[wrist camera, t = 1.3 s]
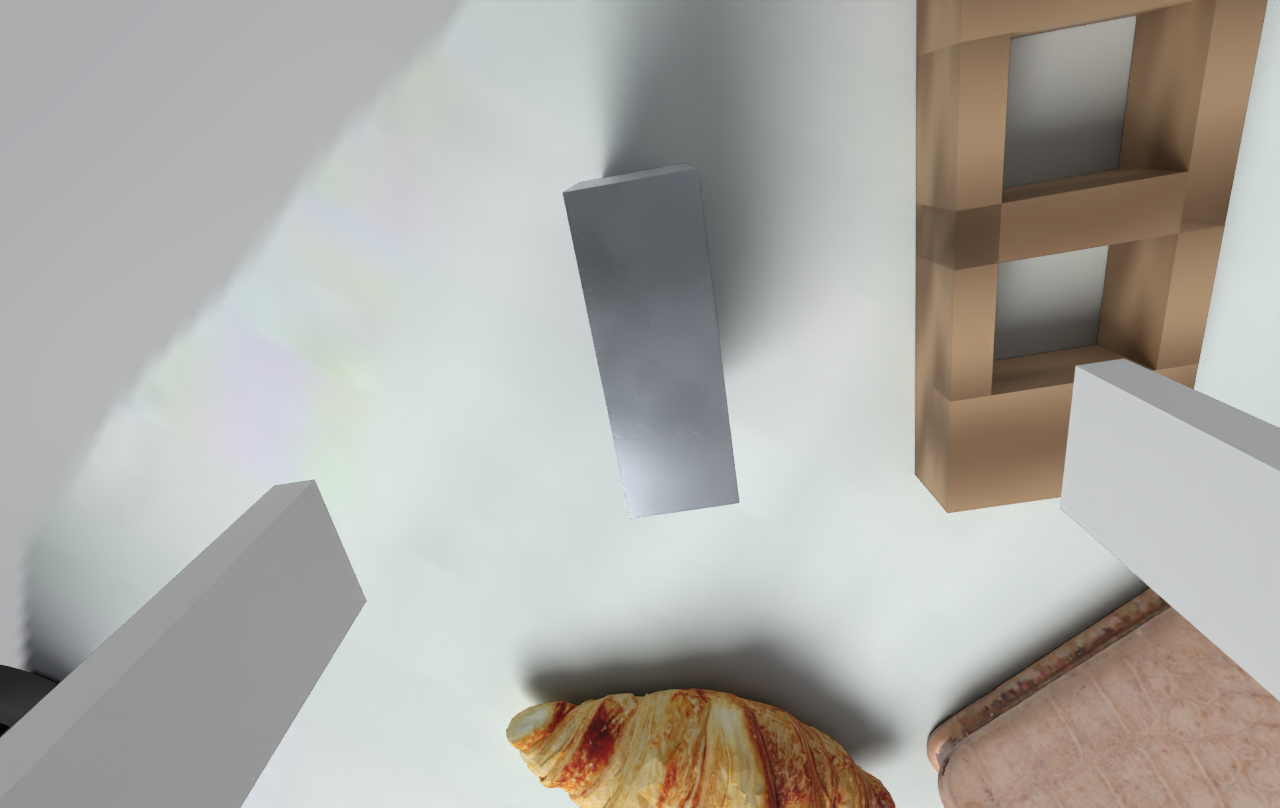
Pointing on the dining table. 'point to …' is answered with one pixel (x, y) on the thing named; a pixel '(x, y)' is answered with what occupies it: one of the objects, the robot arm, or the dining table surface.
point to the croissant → (689, 754)
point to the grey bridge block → (656, 336)
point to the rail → (1063, 226)
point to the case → (1117, 725)
